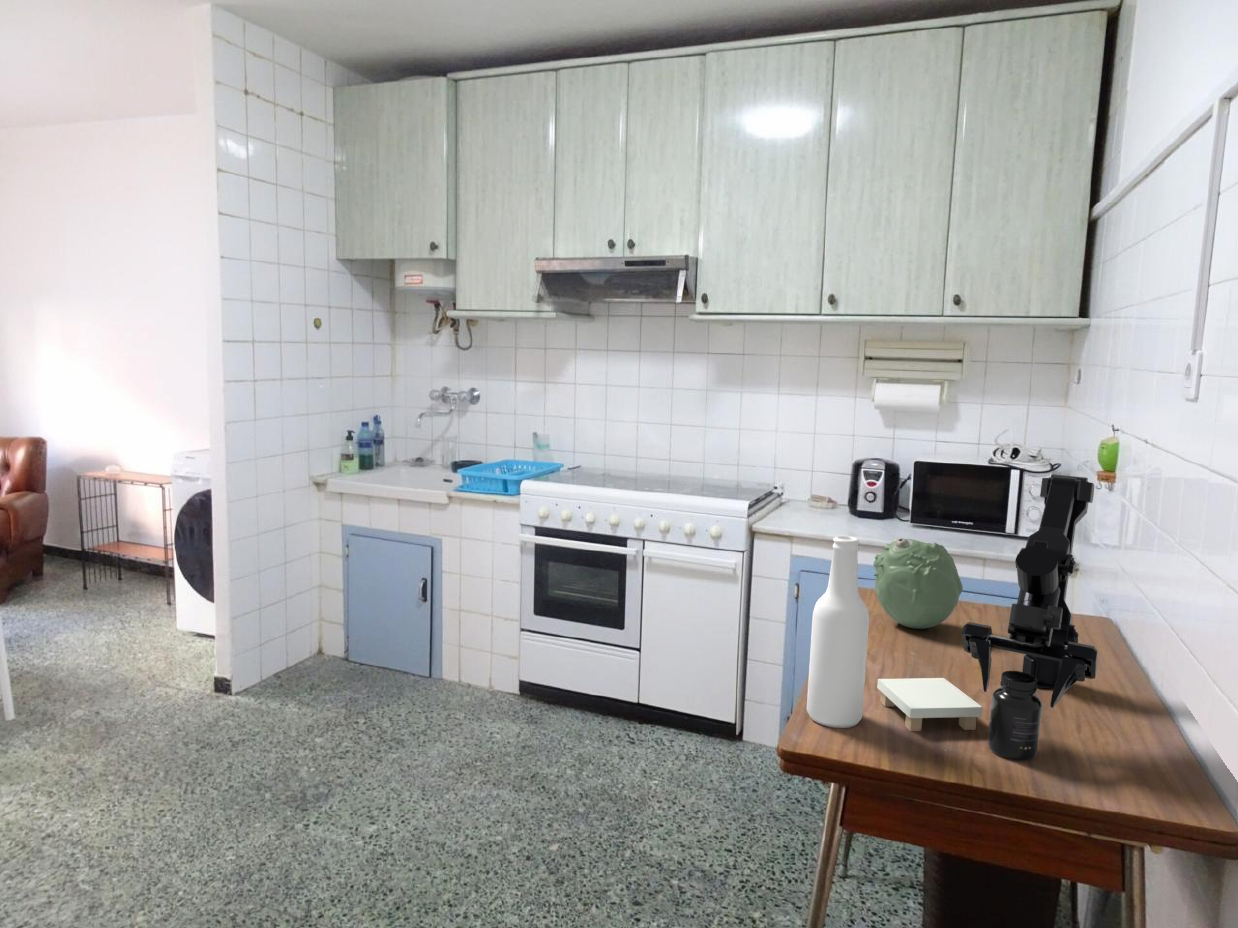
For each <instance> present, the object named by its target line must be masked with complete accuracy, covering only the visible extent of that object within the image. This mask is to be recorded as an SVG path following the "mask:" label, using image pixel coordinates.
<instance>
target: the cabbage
mask: <svg viewBox="0 0 1238 928" xmlns="http://www.w3.org/2000/svg"><path fill="white" fill-rule="evenodd" d="M883 549H884V550H882V551H881V554H876V555H875V556H874V561H873V567H874V568H875V573H874V574H873V575H872V576H873V577H874V578H875V579H874V580H875V583H874V590H875V593H876V597H877V599H878V602H879V603H880V605H881V608H883V610H884V612H885V613H886V614H887V616H889V618H890V619H891V620H893V621H894V622H896V623H898V624H900V625H902V626H904V627H906V628H909V629H912V630H913V629H914V630H915V629H917V630H918V629H919V630H925V629H929V628H933V627H936V626H939V625H940V624H941V623H943V622H944V621H946V620H947V619H948V618H949V617H950V616H951V615H952V614H953V612H954V611H955V609H956V607H957V606H958V602H959V599H960V596H961V594H962V592H963V588H964V587H963V582H962V581H961V578H960V575H959V573H958V569H957V566H956V564H955V562H954V558H953V557H952V555H951V554H950V553H948V550H947V549H946V547H945V546H944V545H943V544H939V543H937V542H933V543H931V542H927V543H926V542H924V541H920V540H917V539H912V538H911V539H910V538H895V539H893V540H892V541H890V543H886V545H885V546H884V547H883Z"/></svg>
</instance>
